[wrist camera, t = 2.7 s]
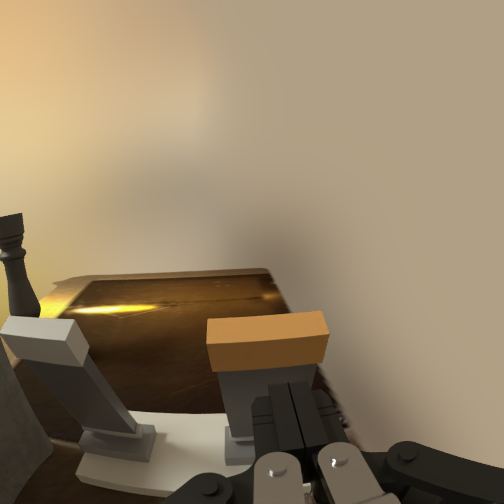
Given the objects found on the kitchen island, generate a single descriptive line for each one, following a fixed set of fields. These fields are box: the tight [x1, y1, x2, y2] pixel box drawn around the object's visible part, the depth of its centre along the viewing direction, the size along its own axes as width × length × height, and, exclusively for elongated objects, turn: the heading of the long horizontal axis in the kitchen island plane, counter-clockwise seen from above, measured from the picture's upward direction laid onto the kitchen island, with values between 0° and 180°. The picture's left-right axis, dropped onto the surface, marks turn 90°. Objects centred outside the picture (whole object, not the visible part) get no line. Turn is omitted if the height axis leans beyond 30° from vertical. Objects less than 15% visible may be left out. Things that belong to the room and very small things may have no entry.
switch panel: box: [75, 411, 311, 498], centre depth 24 cm, size 11×23×3 cm, turn 93°
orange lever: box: [207, 311, 329, 442], centre depth 20 cm, size 2×6×16 cm, turn 94°
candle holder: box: [0, 213, 41, 318], centre depth 37 cm, size 6×6×25 cm
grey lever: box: [0, 316, 144, 439], centre depth 19 cm, size 2×6×16 cm, turn 94°
